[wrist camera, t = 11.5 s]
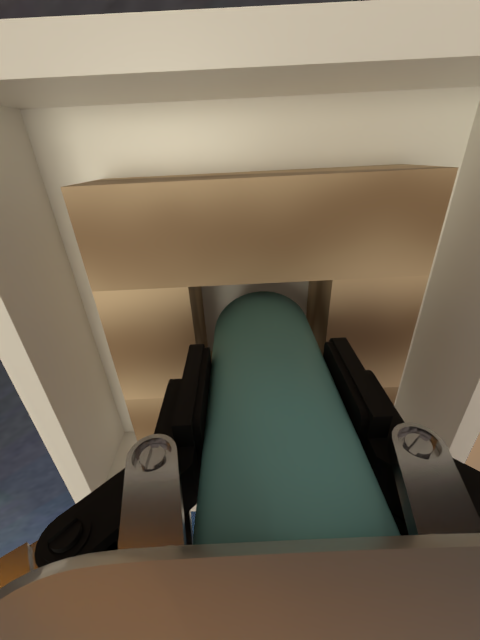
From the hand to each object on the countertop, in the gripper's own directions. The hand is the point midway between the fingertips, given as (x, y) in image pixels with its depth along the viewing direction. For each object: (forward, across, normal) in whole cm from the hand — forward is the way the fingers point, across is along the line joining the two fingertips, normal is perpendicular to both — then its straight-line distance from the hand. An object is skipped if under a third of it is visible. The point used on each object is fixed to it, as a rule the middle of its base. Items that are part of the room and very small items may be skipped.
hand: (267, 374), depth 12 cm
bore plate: (+7, 0, 0) cm, 7 cm away
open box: (+7, 0, 0) cm, 7 cm away
